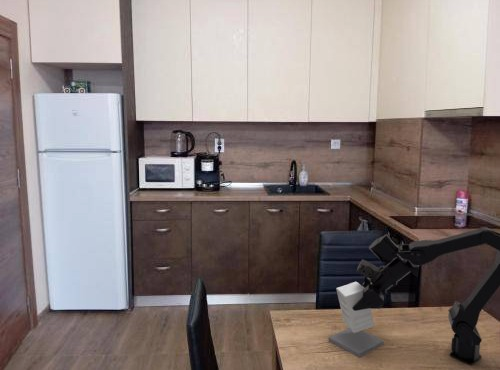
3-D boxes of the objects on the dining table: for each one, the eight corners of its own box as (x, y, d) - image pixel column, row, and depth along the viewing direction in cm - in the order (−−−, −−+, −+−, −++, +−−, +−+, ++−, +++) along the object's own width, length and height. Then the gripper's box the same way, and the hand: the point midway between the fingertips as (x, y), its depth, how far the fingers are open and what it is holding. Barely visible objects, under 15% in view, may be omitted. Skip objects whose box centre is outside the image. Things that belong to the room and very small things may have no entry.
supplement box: (364, 316, 134) (356, 280, 132) (375, 326, 127) (367, 288, 125) (343, 323, 133) (335, 287, 131) (353, 333, 126) (345, 296, 124)
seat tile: (383, 344, 128) (383, 340, 128) (359, 357, 121) (359, 353, 121) (352, 329, 137) (352, 325, 137) (328, 340, 130) (328, 337, 130)
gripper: (374, 244, 134) (339, 273, 139) (372, 263, 116) (332, 295, 121) (398, 270, 132) (362, 298, 137) (401, 292, 115) (359, 324, 120)
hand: (354, 303), depth 129 cm, fingers closed on supplement box, 9 cm apart
